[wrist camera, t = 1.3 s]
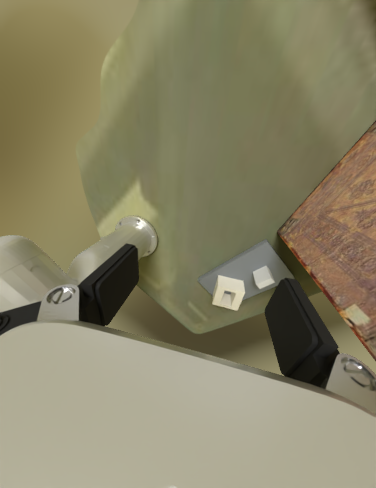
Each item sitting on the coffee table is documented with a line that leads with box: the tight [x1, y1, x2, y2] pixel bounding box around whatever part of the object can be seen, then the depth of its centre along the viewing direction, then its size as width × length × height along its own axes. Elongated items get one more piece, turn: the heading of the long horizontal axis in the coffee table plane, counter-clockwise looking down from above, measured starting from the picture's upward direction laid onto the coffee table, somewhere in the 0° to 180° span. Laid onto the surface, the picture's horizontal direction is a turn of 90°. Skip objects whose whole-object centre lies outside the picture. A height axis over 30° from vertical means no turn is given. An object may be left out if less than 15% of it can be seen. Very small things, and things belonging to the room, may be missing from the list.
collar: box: [212, 275, 245, 311], centre depth 45 cm, size 7×7×4 cm
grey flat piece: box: [198, 239, 294, 308], centre depth 43 cm, size 22×13×6 cm, turn 132°
